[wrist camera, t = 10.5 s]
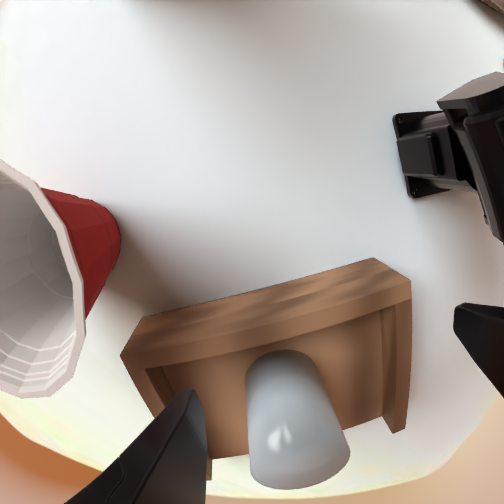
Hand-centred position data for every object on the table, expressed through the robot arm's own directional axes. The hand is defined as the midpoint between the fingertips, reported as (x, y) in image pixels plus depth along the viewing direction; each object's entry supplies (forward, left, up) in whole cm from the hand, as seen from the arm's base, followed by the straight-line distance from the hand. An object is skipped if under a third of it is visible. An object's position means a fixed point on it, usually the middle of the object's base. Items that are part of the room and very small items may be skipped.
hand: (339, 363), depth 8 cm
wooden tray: (+2, +9, -13) cm, 16 cm away
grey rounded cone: (+2, +8, -10) cm, 13 cm away
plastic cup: (+13, -5, -13) cm, 19 cm away
